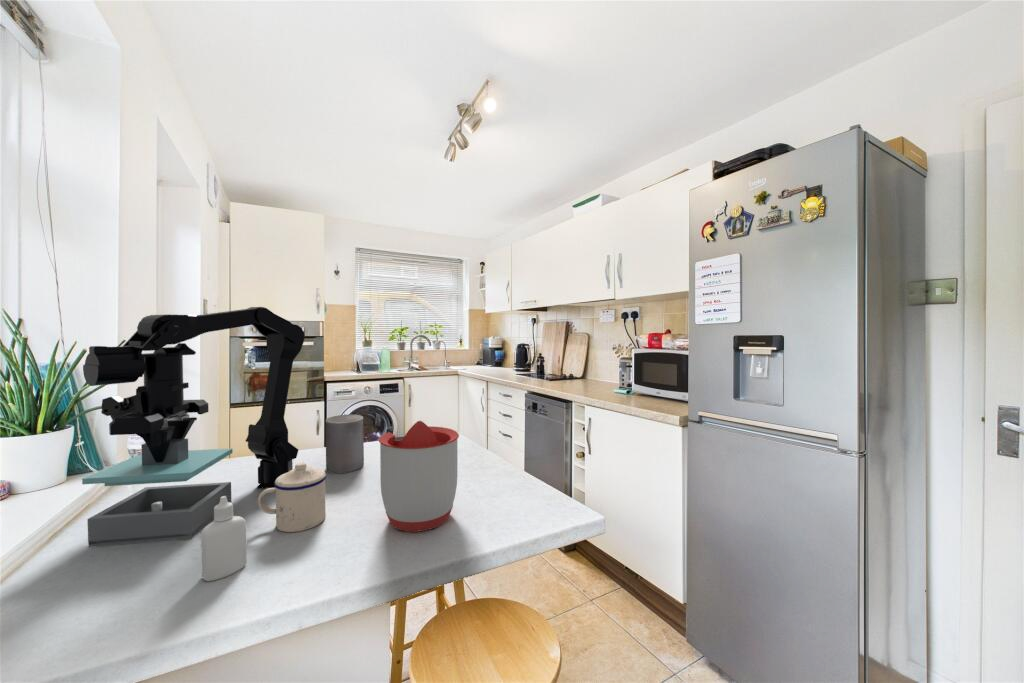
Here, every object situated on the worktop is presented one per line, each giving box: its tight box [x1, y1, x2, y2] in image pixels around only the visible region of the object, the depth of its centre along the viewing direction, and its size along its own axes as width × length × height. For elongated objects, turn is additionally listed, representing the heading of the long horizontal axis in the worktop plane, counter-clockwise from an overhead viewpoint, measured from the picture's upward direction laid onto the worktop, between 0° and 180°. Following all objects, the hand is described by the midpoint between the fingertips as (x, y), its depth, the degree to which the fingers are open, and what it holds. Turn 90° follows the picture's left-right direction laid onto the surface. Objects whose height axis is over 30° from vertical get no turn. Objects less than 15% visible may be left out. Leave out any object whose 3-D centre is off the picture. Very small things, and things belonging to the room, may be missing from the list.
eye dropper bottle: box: [200, 496, 248, 582], centre depth 62 cm, size 4×6×12 cm
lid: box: [81, 438, 233, 487], centre depth 77 cm, size 17×15×6 cm
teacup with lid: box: [257, 462, 327, 533], centre depth 78 cm, size 12×9×12 cm
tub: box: [87, 481, 232, 548], centre depth 77 cm, size 16×14×5 cm
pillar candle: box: [325, 413, 365, 474], centre depth 108 cm, size 10×10×15 cm
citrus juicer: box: [378, 420, 460, 533], centre depth 80 cm, size 16×17×20 cm
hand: (165, 459), depth 77 cm, fingers closed on lid, 3 cm apart
